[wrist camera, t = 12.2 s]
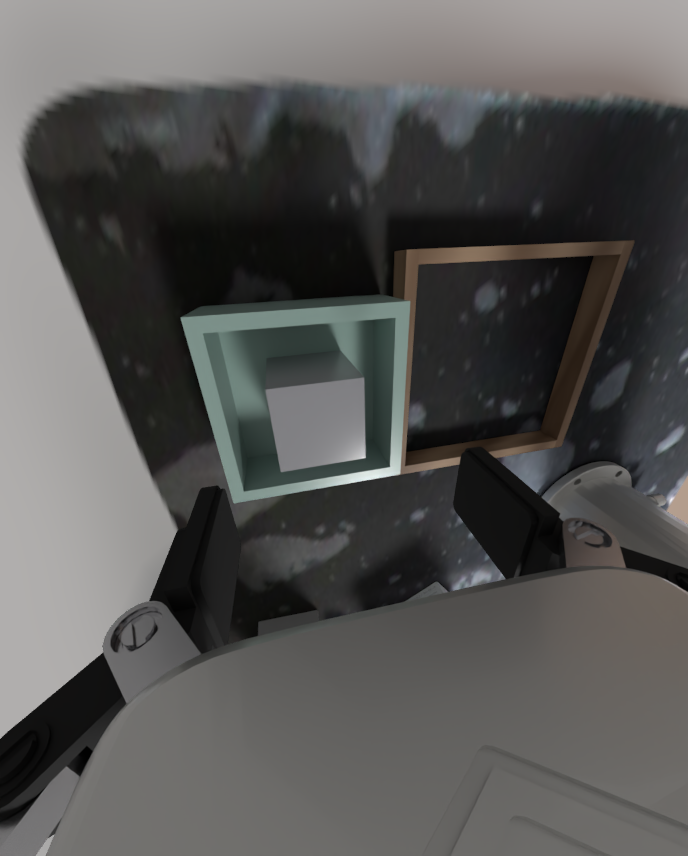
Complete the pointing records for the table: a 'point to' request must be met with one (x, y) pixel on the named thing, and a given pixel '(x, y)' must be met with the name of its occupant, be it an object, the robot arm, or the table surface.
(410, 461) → the brown wooden frame
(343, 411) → the stone block
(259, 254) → the table surface
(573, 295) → the table surface
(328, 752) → the robot arm
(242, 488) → the sage green bin
